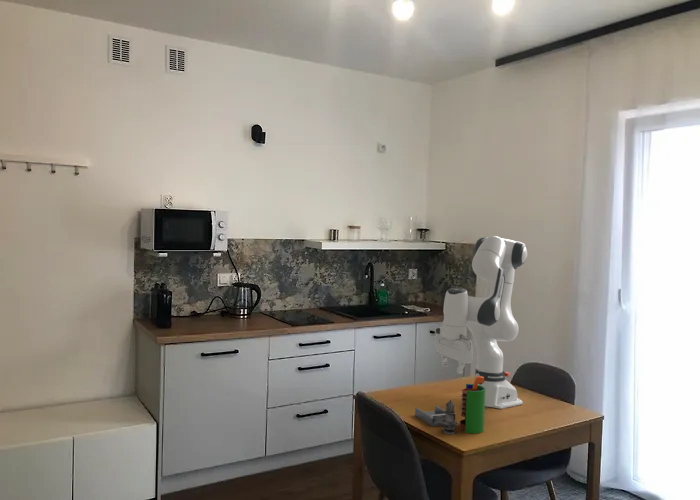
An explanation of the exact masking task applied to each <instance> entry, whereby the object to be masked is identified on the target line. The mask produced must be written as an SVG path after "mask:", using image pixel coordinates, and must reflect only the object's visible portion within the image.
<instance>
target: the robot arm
mask: <svg viewBox="0 0 700 500" xmlns="http://www.w3.org/2000/svg"><path fill="white" fill-rule="evenodd" d="M473 252H474V253H473V254H474V256H473V259H472V260H471V261H472V262H471V263H472V264H471V268H472V272H473V273H474V274H475V275H476V276H477V277H478V278H479V279H481V280H482V281H485V282H486V285H485V290H484V297H479V296H478V297H477V296H472V295H468V290H467V289H465V288H463V287H451V288H449V289H447V290H446V292H445V295H444V300H443V301H444V302H443V310H442V311H443V321H442V326H439V327H438V326H437V327H435V328H434V333H435V335H434V346H433V347H434V348H433V349H434V351H435V353H437V354H440V359H441V366H442V367H444V368H448V367H449V362H448V359H447V358H450V359H453V360H455V361H457V362H458V367H456V374H459V375H462V374H463V373H464V369H465V366H466V365H467V364H472V363H473V361H474V349H473V346H474V345H473V343H472V340H471V339H470V337H469V336H467V334H468V333H467V332H468V331H469V332H470V333H471V334H472V338H473V340H474V343H475V348H476V368H475V370H474V379H475V378H476V377H477V376H482V377H484V383H478V385H480V386H483V387H485V407H488V408H496V409H502V410H503V409H507V408H510V407H515V406H520V405H523V402H524V401H523V400H521V399H520V398H519V397H518V391H517V389H516V387H515V386H514V385H512V384H511V383H510V382H509V381H508V380H507V378H509V377H511V372H508V371H504V370H503V368H504V352H503V351H502V349H501V348H500V347H499V344H498V342H512V341H514V340H515V339H516V338H517V337H518V334H519V329H520V327H519V324H518V322H517V320H516V319H515V318H514V315H513V312H512V311H513V310H512V304H511V303H512V302H511V301H512V300H511V299H512V294H513V288H514V282H515V273H516V272H515V270H517V269H518V268H519V267H521V266H522V265H524V264H525V262H526V260H527V257H528V248H527V245H526V244H525V243H524V242H521V241H519V240H516V241H515V240H512V239H507V238H501V237H500V236H496V235H489V236H487V237H479V239H478V240H476V242H475V245H474V248H473Z"/></svg>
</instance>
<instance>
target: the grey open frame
mask: <svg viewBox="0 0 700 500" xmlns="http://www.w3.org/2000/svg"><path fill="white" fill-rule="evenodd" d="M414 411H415V412H414V413H415V414H414V416H415V417H417V418H418V419H420V420H422V421H423V422H425V423H426V424H428V425H429V426H431V427H438V426H439V427H440V426H442V423H441V421H442V420H445V416H446V413H445V411H446V409H443V408H442V407H440V406H438V405H435V406H434V410H430V411H424V410H422V409H420V408H418V407H415V409H414ZM454 421H456V413H454Z"/></svg>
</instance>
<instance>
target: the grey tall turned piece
mask: <svg viewBox="0 0 700 500" xmlns="http://www.w3.org/2000/svg"><path fill="white" fill-rule="evenodd" d="M445 413H446V416H445V420H442V421H441V423H442V425H441V426H442V427H443V429H441V432H442V434H445V435H456V433H457V431H456V430H455V429H456V428H457V424H458V422H457V421H456V420H455V421H454V413H455V404H454V402H453V401H452V400H451V399H449V401H447V402H446V405H445ZM455 414H456V413H455Z"/></svg>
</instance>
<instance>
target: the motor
mask: <svg viewBox="0 0 700 500" xmlns="http://www.w3.org/2000/svg"><path fill="white" fill-rule="evenodd" d="M473 381H474V382H473V383H465V388H462V389H461V393H462V394H461V403H460V404H461V408H460V409H461V412H460V416H461V417H463V418H464V419H461V420H460V421H459V429H460V430H461V431H463V432H465V433H466V434H480V433H483V432H484V430H485V410H486V409H485V408H486V406H485V387H483V386H480V385H478V383H484V377H482V376H477V377H476V378H475V377H474V380H473Z"/></svg>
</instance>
